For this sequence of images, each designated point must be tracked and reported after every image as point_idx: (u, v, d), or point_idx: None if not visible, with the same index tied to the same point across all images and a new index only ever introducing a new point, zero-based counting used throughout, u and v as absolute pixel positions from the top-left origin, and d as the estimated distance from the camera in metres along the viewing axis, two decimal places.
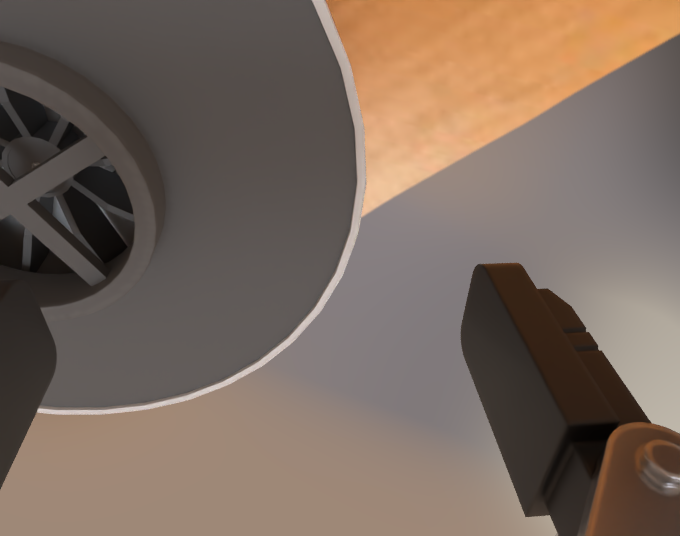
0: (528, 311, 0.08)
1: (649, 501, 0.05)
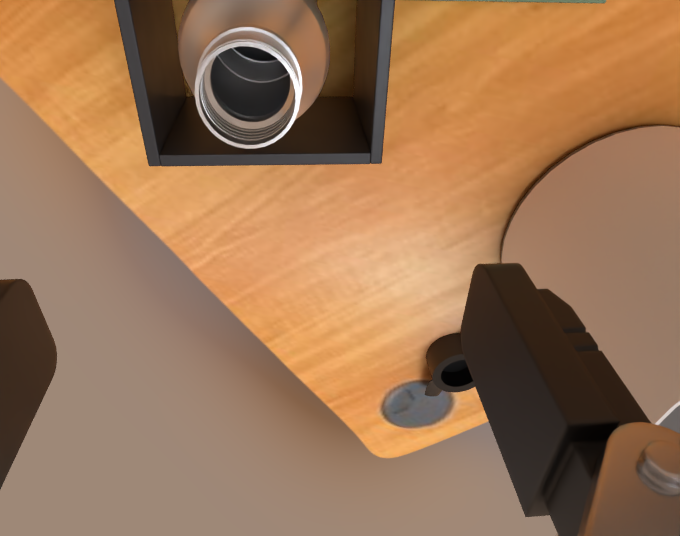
0: (528, 311, 0.08)
1: (649, 502, 0.05)
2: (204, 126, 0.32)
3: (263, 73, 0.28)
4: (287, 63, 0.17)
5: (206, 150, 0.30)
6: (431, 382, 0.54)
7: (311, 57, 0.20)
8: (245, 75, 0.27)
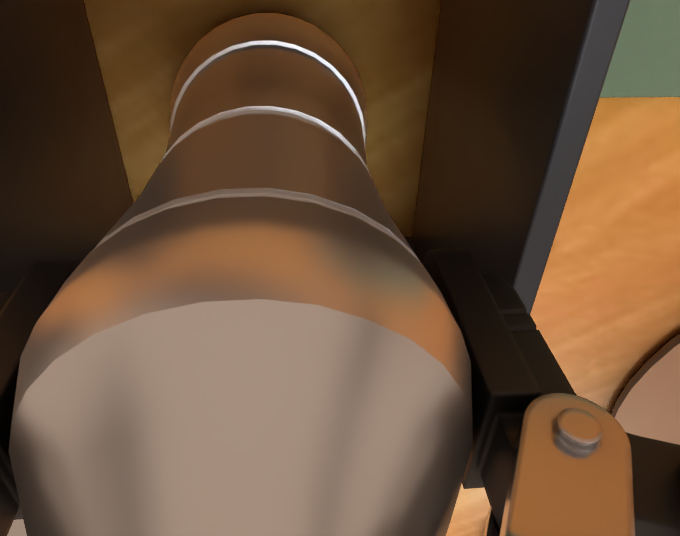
0: (469, 293, 0.08)
1: (556, 464, 0.06)
2: None
3: None
4: None
5: None
6: None
7: (446, 519, 0.06)
8: None
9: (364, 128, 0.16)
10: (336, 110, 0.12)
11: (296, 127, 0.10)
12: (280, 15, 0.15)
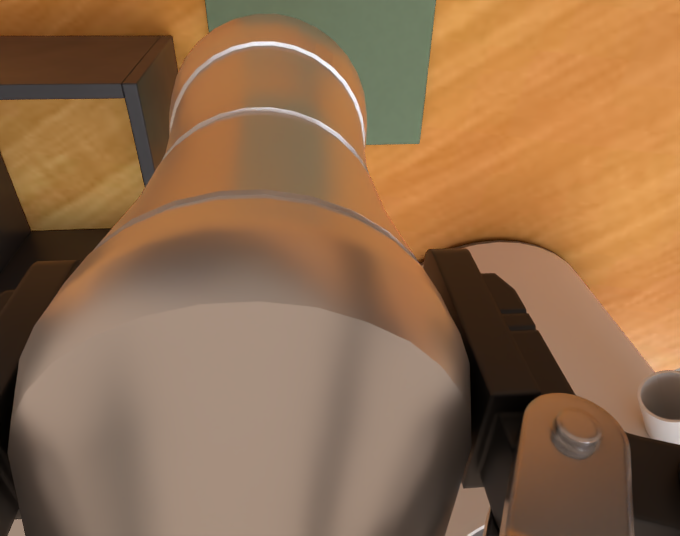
0: (469, 292, 0.08)
1: (555, 463, 0.06)
2: None
3: None
4: None
5: None
6: None
7: (444, 520, 0.06)
8: None
9: (363, 129, 0.16)
10: (336, 111, 0.12)
11: (295, 128, 0.10)
12: (280, 16, 0.15)
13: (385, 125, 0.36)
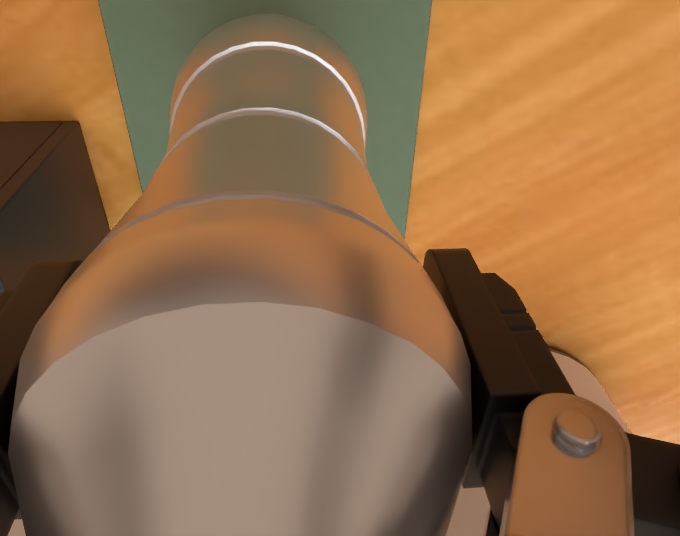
0: (469, 292, 0.08)
1: (555, 463, 0.06)
2: None
3: None
4: None
5: None
6: None
7: (445, 521, 0.06)
8: None
9: (364, 130, 0.16)
10: (336, 111, 0.12)
11: (296, 128, 0.10)
12: (280, 16, 0.15)
13: None
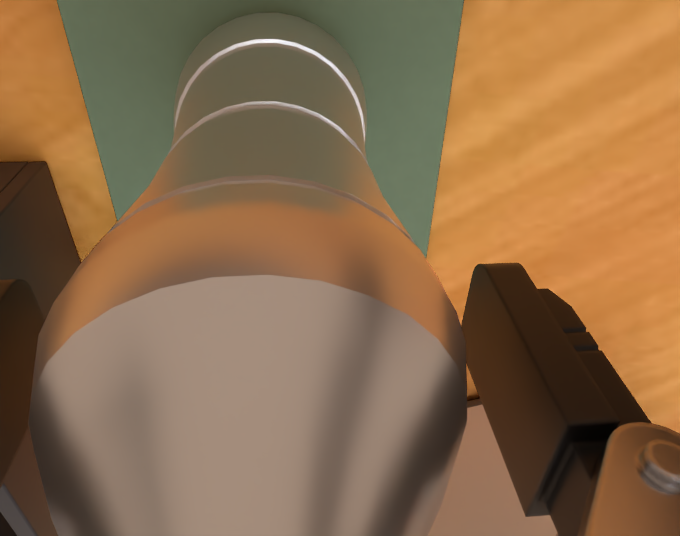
0: (528, 311, 0.08)
1: (649, 501, 0.05)
2: None
3: None
4: None
5: None
6: None
7: (441, 486, 0.06)
8: None
9: (364, 125, 0.16)
10: (336, 106, 0.13)
11: (298, 121, 0.10)
12: (282, 14, 0.16)
13: None
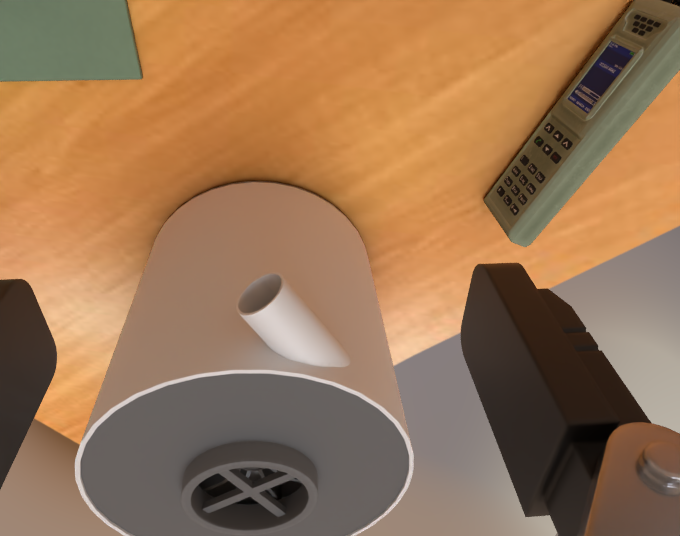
0: (528, 311, 0.08)
1: (649, 501, 0.05)
2: None
3: None
4: None
5: None
6: None
7: None
8: None
9: None
10: None
11: None
12: None
13: (100, 60, 0.37)
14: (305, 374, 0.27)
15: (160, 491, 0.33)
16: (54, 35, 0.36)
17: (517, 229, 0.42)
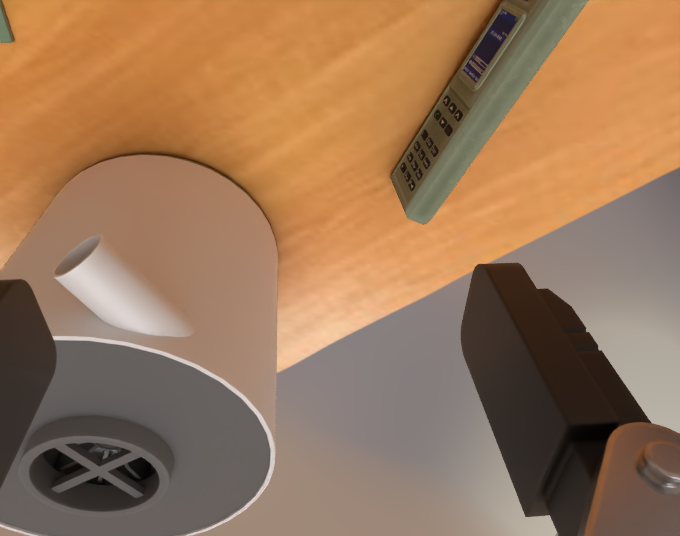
0: (528, 311, 0.08)
1: (649, 502, 0.05)
2: None
3: None
4: None
5: None
6: None
7: None
8: None
9: None
10: None
11: None
12: None
13: None
14: (129, 343, 0.26)
15: None
16: None
17: (412, 205, 0.41)
